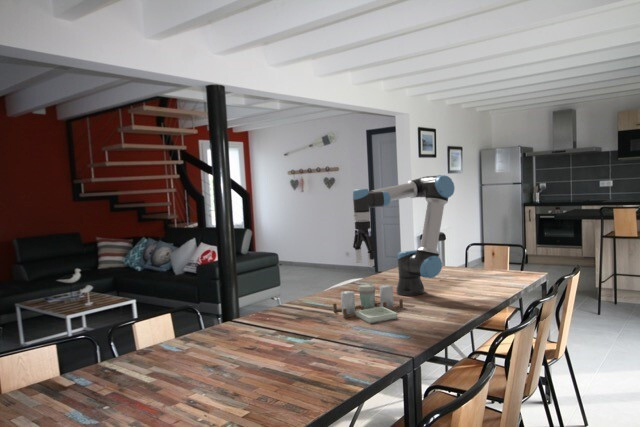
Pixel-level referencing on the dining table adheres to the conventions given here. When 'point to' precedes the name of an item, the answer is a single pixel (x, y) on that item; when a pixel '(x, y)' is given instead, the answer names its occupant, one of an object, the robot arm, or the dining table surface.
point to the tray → (376, 314)
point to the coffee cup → (367, 295)
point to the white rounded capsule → (348, 302)
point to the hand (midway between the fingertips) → (365, 264)
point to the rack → (363, 308)
